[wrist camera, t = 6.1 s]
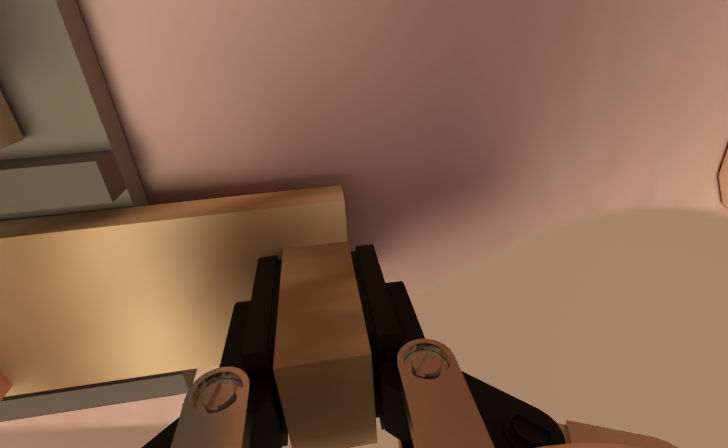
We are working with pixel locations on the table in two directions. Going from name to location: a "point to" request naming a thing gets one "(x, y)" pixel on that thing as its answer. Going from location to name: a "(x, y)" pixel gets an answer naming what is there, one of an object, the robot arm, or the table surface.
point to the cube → (4, 386)
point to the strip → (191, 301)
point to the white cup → (724, 180)
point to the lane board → (65, 163)
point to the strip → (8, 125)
